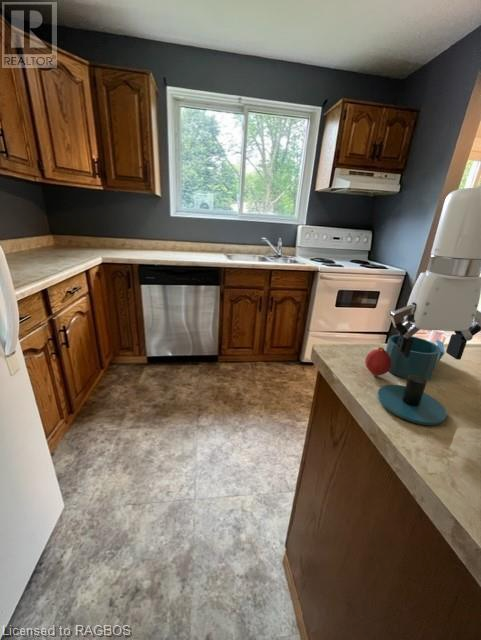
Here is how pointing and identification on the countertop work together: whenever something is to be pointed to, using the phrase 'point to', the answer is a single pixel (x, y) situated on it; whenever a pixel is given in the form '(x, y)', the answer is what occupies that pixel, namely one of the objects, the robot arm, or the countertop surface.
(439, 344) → the yogurt
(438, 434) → the countertop surface
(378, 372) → the onion
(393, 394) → the lid
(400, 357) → the pot
